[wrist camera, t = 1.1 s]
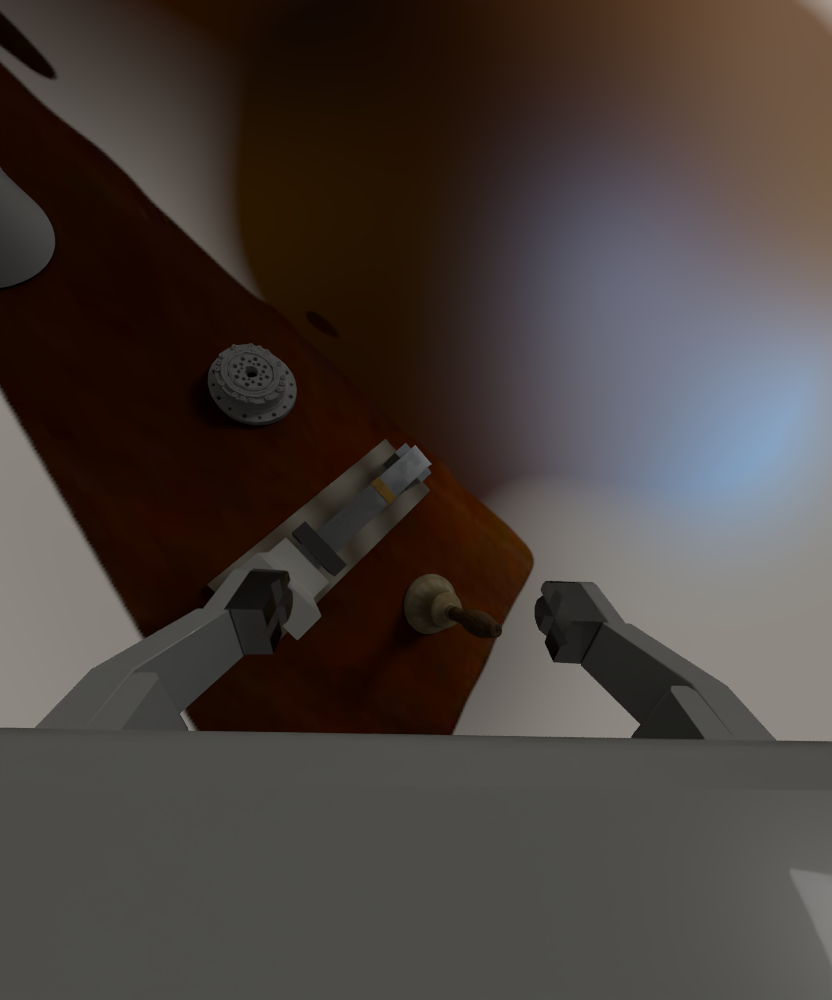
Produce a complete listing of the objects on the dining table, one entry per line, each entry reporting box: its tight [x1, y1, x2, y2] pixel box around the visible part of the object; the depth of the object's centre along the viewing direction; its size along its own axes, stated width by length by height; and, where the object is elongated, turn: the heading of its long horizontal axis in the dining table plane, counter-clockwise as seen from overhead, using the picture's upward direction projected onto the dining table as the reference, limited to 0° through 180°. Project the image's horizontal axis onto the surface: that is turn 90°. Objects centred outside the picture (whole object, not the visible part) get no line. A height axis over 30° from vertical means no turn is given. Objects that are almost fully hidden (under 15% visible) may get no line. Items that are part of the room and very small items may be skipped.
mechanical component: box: [208, 344, 296, 425], centre depth 37 cm, size 10×4×10 cm
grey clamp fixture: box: [297, 443, 431, 570], centre depth 36 cm, size 26×5×7 cm, turn 135°
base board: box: [207, 439, 430, 639], centre depth 40 cm, size 28×10×1 cm, turn 135°
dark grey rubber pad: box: [292, 521, 347, 576], centre depth 32 cm, size 2×6×6 cm, turn 45°
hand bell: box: [404, 574, 502, 638], centre depth 36 cm, size 8×8×16 cm
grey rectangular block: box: [240, 538, 329, 640], centre depth 27 cm, size 4×6×15 cm, turn 45°
